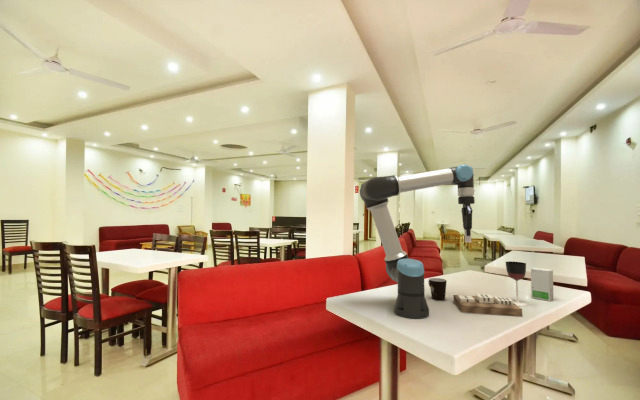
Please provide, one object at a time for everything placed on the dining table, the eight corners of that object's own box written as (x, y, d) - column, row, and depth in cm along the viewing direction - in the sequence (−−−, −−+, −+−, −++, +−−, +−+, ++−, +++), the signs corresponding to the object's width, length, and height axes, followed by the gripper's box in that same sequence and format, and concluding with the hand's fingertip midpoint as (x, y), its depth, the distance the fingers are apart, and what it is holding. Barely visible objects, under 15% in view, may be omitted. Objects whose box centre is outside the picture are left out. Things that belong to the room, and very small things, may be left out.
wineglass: (515, 300, 147) (513, 261, 148) (532, 305, 139) (530, 263, 140) (503, 301, 144) (501, 261, 146) (520, 306, 136) (518, 264, 137)
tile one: (460, 303, 134) (460, 298, 134) (458, 300, 140) (457, 294, 140) (474, 304, 133) (474, 299, 133) (471, 301, 139) (471, 295, 139)
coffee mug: (449, 301, 145) (448, 281, 146) (431, 300, 147) (430, 281, 148) (443, 295, 157) (443, 277, 157) (427, 294, 158) (426, 276, 159)
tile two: (479, 302, 132) (479, 296, 133) (475, 298, 138) (475, 293, 138) (493, 303, 131) (493, 297, 131) (489, 299, 137) (489, 294, 137)
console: (461, 312, 129) (461, 305, 129) (453, 301, 146) (453, 294, 146) (522, 316, 123) (521, 309, 123) (506, 304, 140) (506, 297, 140)
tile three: (498, 305, 130) (498, 299, 130) (494, 301, 136) (494, 296, 136) (513, 306, 129) (513, 300, 129) (508, 302, 135) (508, 297, 135)
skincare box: (531, 298, 150) (529, 268, 151) (535, 296, 154) (533, 267, 155) (550, 301, 144) (549, 270, 145) (554, 299, 148) (553, 269, 149)
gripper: (477, 195, 140) (479, 243, 138) (470, 196, 152) (473, 241, 151) (460, 195, 142) (462, 243, 140) (455, 197, 154) (457, 241, 153)
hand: (468, 242), depth 145 cm, fingers closed
